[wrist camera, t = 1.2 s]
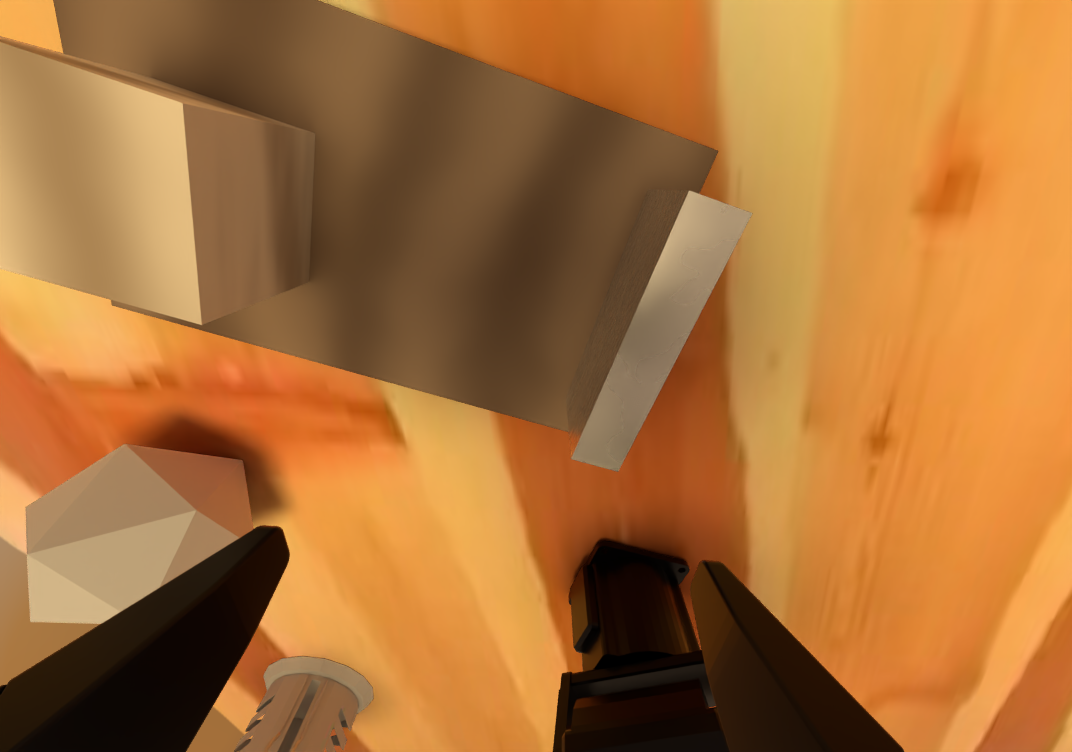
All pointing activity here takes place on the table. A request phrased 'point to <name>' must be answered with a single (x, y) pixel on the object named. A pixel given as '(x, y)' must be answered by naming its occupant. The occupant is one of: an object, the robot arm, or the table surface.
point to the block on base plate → (451, 212)
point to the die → (129, 529)
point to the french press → (306, 706)
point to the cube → (147, 188)
